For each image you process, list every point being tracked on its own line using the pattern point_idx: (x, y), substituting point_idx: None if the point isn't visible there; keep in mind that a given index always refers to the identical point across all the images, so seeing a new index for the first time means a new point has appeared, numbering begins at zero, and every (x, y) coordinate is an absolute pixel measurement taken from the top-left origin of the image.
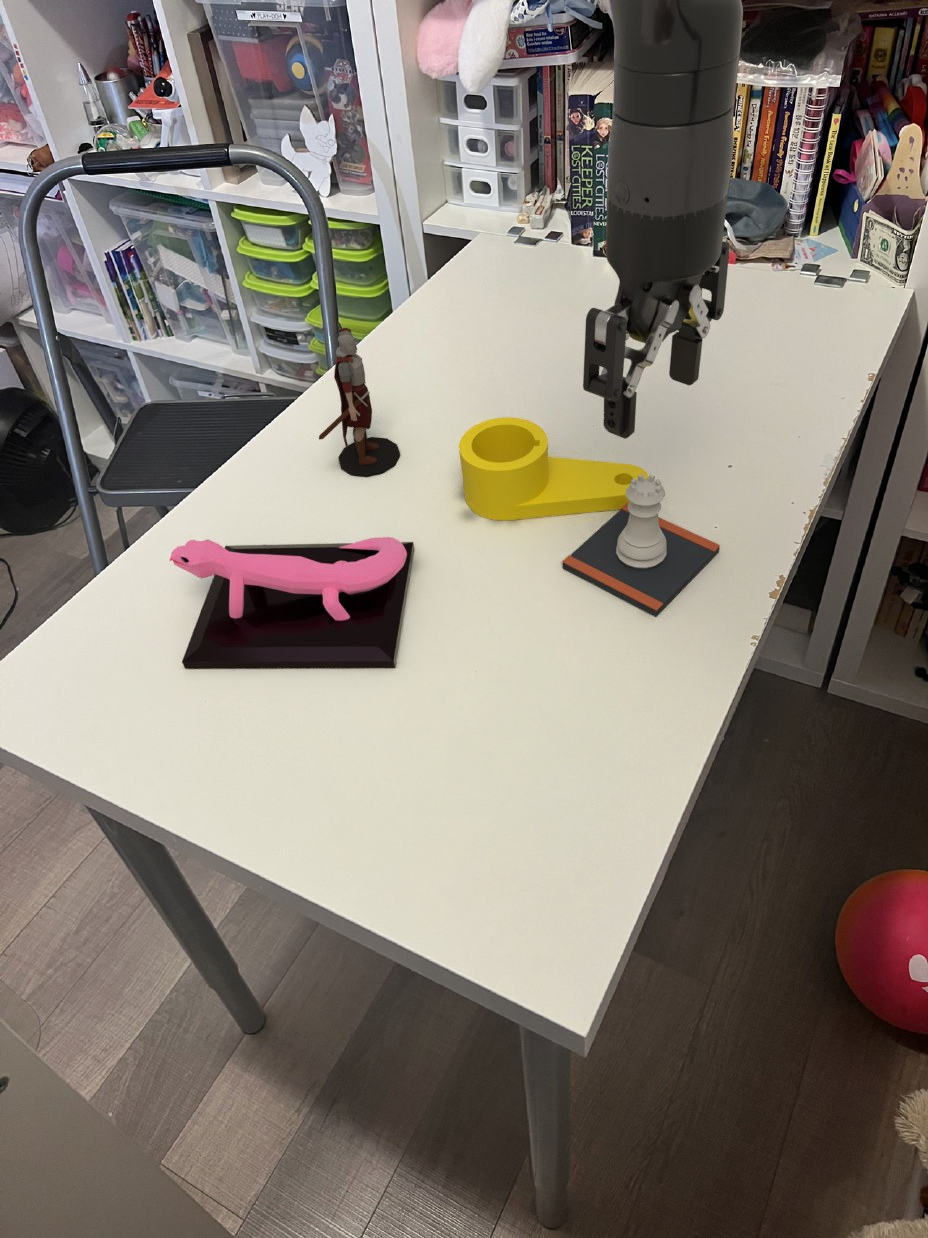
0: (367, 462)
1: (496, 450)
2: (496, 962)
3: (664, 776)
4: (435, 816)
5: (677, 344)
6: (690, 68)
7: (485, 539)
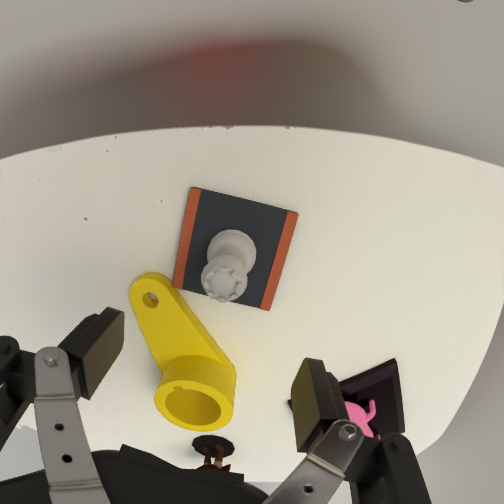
0: (221, 447)
1: (181, 400)
2: None
3: (431, 164)
4: (474, 282)
5: (94, 381)
6: None
7: (259, 368)
